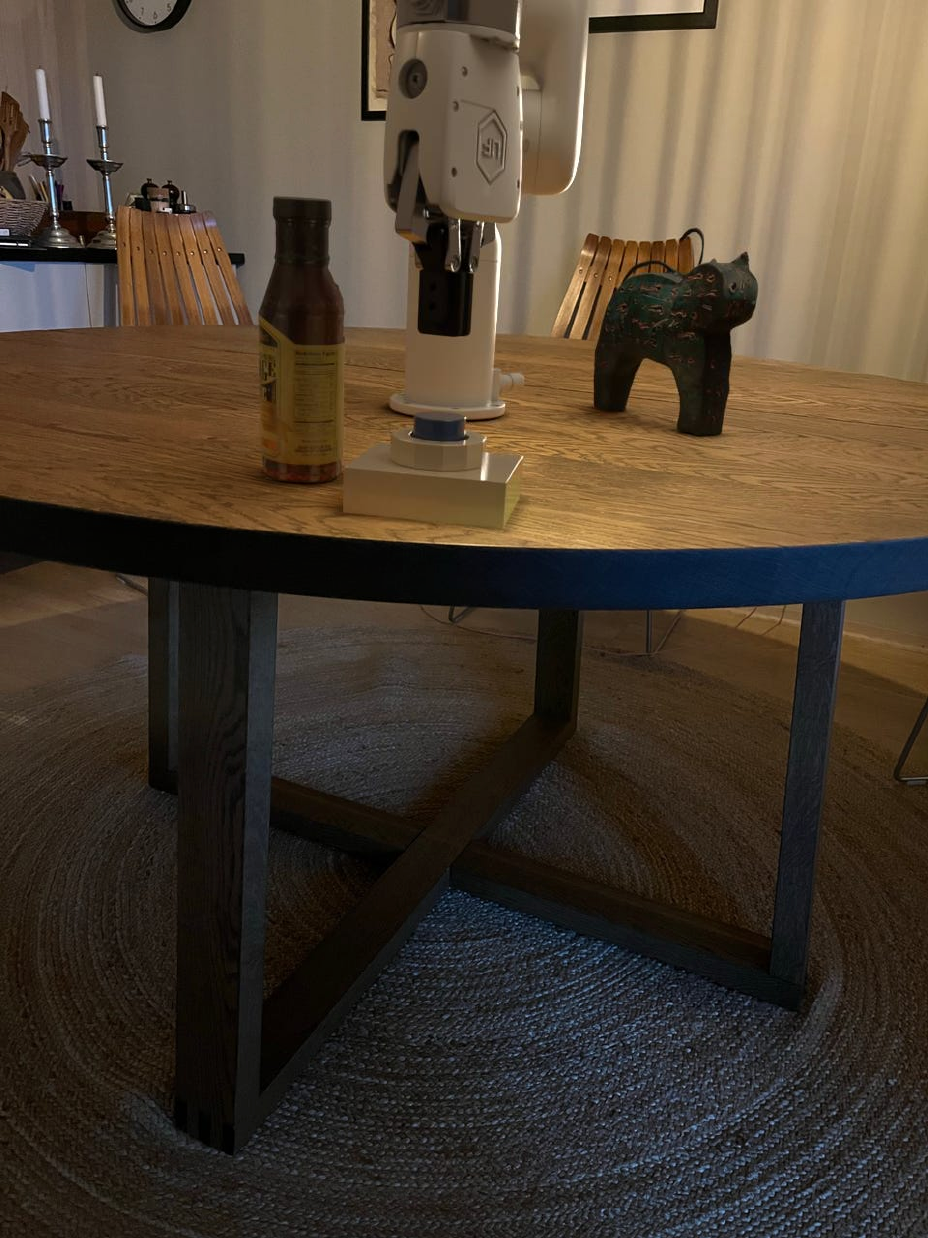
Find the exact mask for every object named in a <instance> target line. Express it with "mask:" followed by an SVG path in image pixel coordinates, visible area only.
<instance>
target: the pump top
mask: <svg viewBox="0 0 928 1238" xmlns="http://www.w3.org/2000/svg"><path fill="white" fill-rule="evenodd" d="M466 423H467V420H466V417H465V416H463V415H460V414H456V413H450V412H439V411H427V412H419V413H416V414H414V416H413V426H412V427H413V438H417V439H421V440H428V441H439V442H453V441H463V440H465V430H466V425H467V424H466Z"/></svg>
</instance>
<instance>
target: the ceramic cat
mask: <svg viewBox="0 0 928 1238" xmlns="http://www.w3.org/2000/svg"><path fill="white" fill-rule="evenodd" d="M693 233H696V234H697V235H698V236H699V238H700V240H701V251H700V255H699V259H698V262H697V263H698V264H697V265H696V266H695V267H693V268H692V269H691V270H689V271H688V272H687V273H684V272H682V271H681V272H680V271H679V270H677V269H676V268H673V267H672V266H670V265H669V264H667V263H666V262H663V261H661V260H657V259H656V260H655V259H653V260H645V261H642V262H639V263H637V264H635V265H633V266H632V267H631V268H630V269H629V270H628V272H627V273H626V275H625V276H624V277H623V279H622V282H621V283H620V285H619V286H618V287H617V289H616V290H615V291H614V293H613V294H612V295H611V297H610V299H609V301H608V303H607V306H606V308H605V311H604V314H603V318H602V322H601V326H600V330H599V336H598V340H597V343H596V345H595V350H594V362H593V381H592V382H593V408H595V409H597V410H600V411H604V412H607V413H615V412H618V413H619V412H620V413H621V412H625V411H626V409H627V405H628V401H629V398H630V395H631V390H632V388H633V385H634V382H635V378H636V376H637V373H638V371H639V369H640V367H641V364H642V363H643V360H646V359H647V360H650V361H652V362H654V363H656V364H660V365H663V366H665V367H667V368H668V369H669V370H670V371H671V373H672V376H673V379H674V383H675V385H676V389H677V393H678V397H679V398H678V399H679V400H678V401H679V411H678V417H677V422H676V431H678V432H681V433H689V434H694V435H696V436H698V437H707V436H718V435H719V436H720V435H722V433H723V427H724V420H725V413H726V407H727V403H728V398H729V395H730V374H731V368H732V367H731V366H732V358H733V353H732V351H733V350H732V343H731V339H732V338H731V337H732V336H731V332H732V330H733V329H735V328H737V327H739V326H742V325H744V324H746V323H747V322H749V321H750V320H751V319H752V318H753V316H754V312H755V310H756V306H757V300H758V293H759V284H758V280H757V278H756V277H755V275H754V274H753V271H751V270H750V258H749V253H748V251H744V252H742V253H741V254H739V255H738V257H736V258H735V259H733V260H732V261H730V262H717V259H716V258H715V257H714V258H712V259H711V260H710V261H709V262H708V261H707V262H703V257H704V251H705V250H704V249H705V236H704V233H703V232H702V230H701V229H700V228H698V227H693V228H688V229H687V230H686V231H684V233H683V234H682V235H681V237H680V239H679V240H680V243H682V242H683V241H684V240H685V239H686V238H687V237H688V236H690V235H691V234H693ZM651 265H658V266H661V267H663V268H664V269H666V271H664V272H658V273H657V272H645V273H643V272H642V273H639V274H635V275H633V274H634V273H635V272H636V271H638V269H641V268H644V267H648V266H651Z"/></svg>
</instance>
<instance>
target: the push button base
mask: <svg viewBox="0 0 928 1238" xmlns="http://www.w3.org/2000/svg"><path fill="white" fill-rule="evenodd" d="M389 440H390V441H389V443H388V442H377V443H376V444H374V445H373V446H372V447H370V448H369V449H367V450H365V452H362V453H361V454H360V455H359V456H357V457H356V458H355V459H353V460H352V461H350V462H349V463H347V464H346V465H345V466H343V493H342V494H343V496H342V497H343V498H342V499H343V500H342V501H343V503H342V505H343V506H342V507H343V508H342V512H343V513H344V514H355V515H365V516H373V517H383V518H393V519H402V520H411V521H412V520H413V521H423V522H432V523H442V524H449V525H450V524H451V525H459V526H470V527H480V528H490V529H499V530H504V528H505V526H506V524H507V522H508V521H509V519H510V517H511V515H512V514H513V512H514V510H515V508H516V506H517V504H518V502H519V500H520V499H521V491H522V479H523V478H522V477H523V465H524V455H517V454H507V453H497V452H487V444H488V443H487V442H488V437H486V436H485V435H483V434H482V433H479V432H477V431H473V430H467V429H465V440H463V441H453V442H439V441H428V440H421V439H417V438H413V426H409V427H403V428H398V429H395V430H393V431H392V432H391V433H390V439H389Z"/></svg>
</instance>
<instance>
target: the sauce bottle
mask: <svg viewBox="0 0 928 1238" xmlns="http://www.w3.org/2000/svg"><path fill="white" fill-rule="evenodd" d="M332 204H333V203H332V201H331V199H327V198H315V197H303V196H302V197H300V196H282V195H275V196H273V198H272V217H273V219H274V222H275V227H274V228H275V232H274V234H275V252H274V257H273V258H274V263H273V268H272V270H271V274H270V277H269V280H268V283H267V285H266V289H265V292H264V295H263V298H262V301H261V304H260V307H259V311H258V312H257V313H258V317H257V318H258V368H259V369H258V373H259V420H260V421H259V422H260V423H259V426H260V428H259V429H260V455H261V457H262V468H263V471H264V473H265V474H266V475H267V476H268V477H270V478H271V479H272V480H275V481H277V482H286V483H296V484H310V483H311V484H323V483H328V482H331V481H333V480H334V479H336V478H337V477H339V476H340V475H341V472H342V470H343V465H342V459H343V457H344V429H345V427H344V426H345V425H344V423H345V371H346V370H345V369H346V338H345V336H344V335H345V334H344V332H345V324H344V322H345V321H344V320H345V311H346V310H345V303H344V297H343V295H342V292H341V289H340V287H339V284H337V283H336V282H335V280H334V277H333V276H332V273H331V271H330V269H329V265H330V260H331V257H330V255H329V253H330V252H329V250H330V249H329V248H330V247H329V246H330V239H329V238H330V237H329V235H330V234H329V233H330V230H329V229H330V227H331V225H332V221H333V220H332V219H333V207H332Z"/></svg>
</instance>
